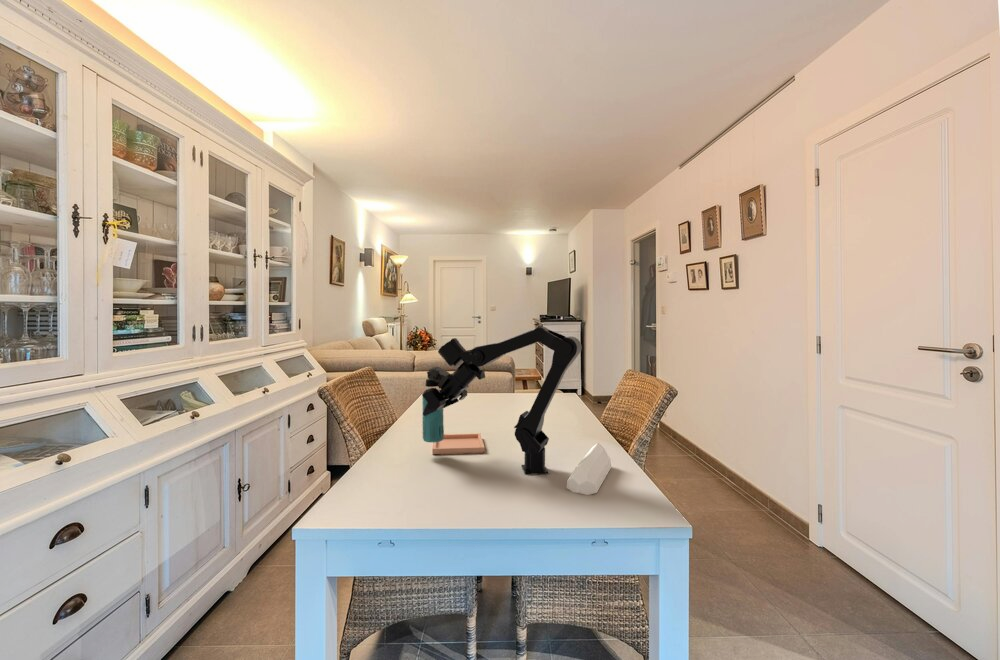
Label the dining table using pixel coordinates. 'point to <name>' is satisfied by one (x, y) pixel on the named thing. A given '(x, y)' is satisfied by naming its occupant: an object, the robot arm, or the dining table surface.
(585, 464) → the crystal
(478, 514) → the dining table surface
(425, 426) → the beverage bottle
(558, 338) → the robot arm
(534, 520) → the dining table surface
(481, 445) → the terracotta tray
